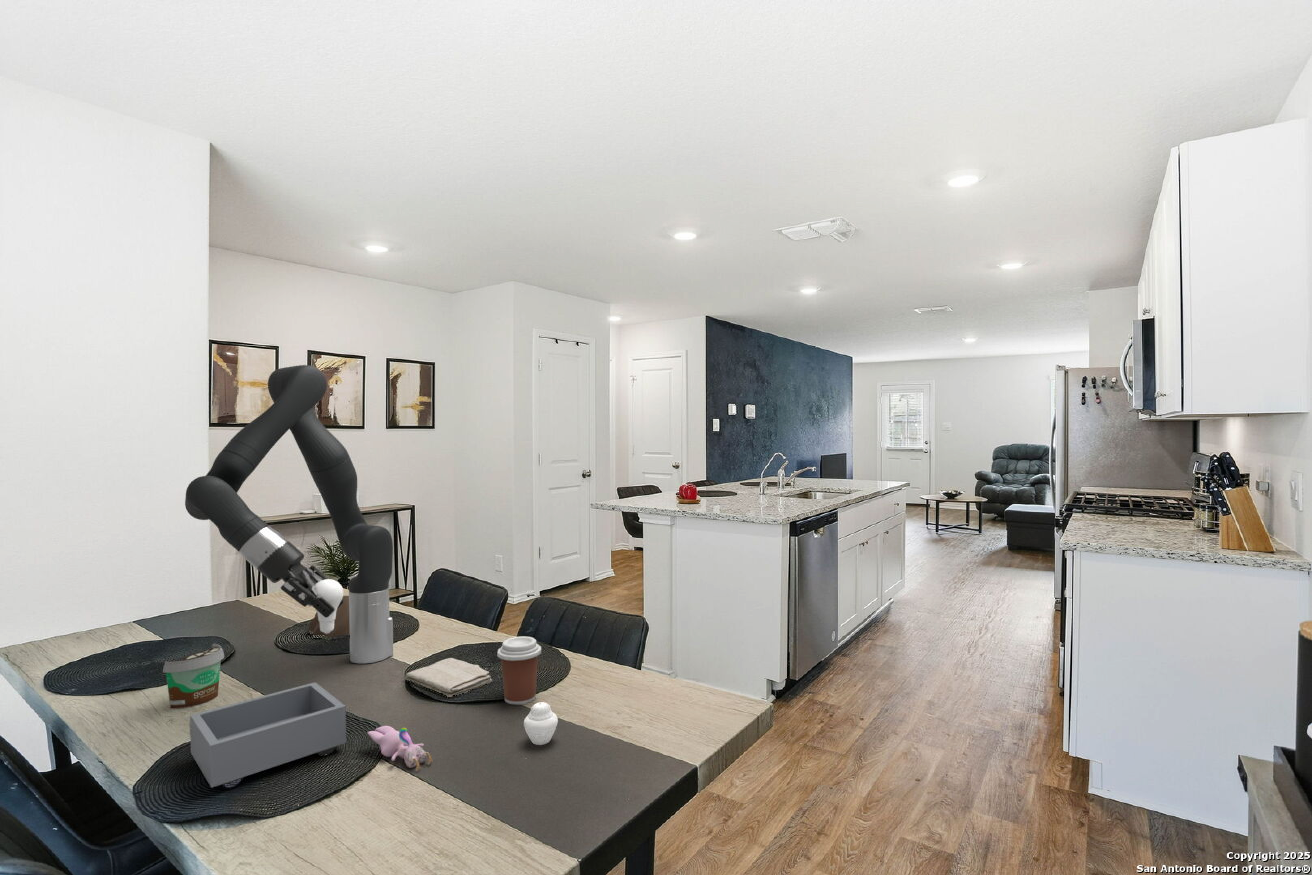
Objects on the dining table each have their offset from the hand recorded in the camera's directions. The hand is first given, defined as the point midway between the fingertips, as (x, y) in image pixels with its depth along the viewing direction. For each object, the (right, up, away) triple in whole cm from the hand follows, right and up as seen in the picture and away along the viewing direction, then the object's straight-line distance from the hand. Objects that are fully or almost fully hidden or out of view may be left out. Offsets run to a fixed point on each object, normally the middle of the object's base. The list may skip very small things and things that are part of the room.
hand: (335, 609), depth 133 cm
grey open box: (-2, -20, -20) cm, 28 cm away
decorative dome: (-24, -21, +54) cm, 62 cm away
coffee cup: (+37, -20, +4) cm, 42 cm away
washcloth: (+19, -21, +14) cm, 31 cm away
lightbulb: (-2, -5, 0) cm, 5 cm away
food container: (-31, -21, +5) cm, 38 cm away
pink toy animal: (+21, -20, -20) cm, 36 cm away
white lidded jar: (+45, -20, -15) cm, 51 cm away
